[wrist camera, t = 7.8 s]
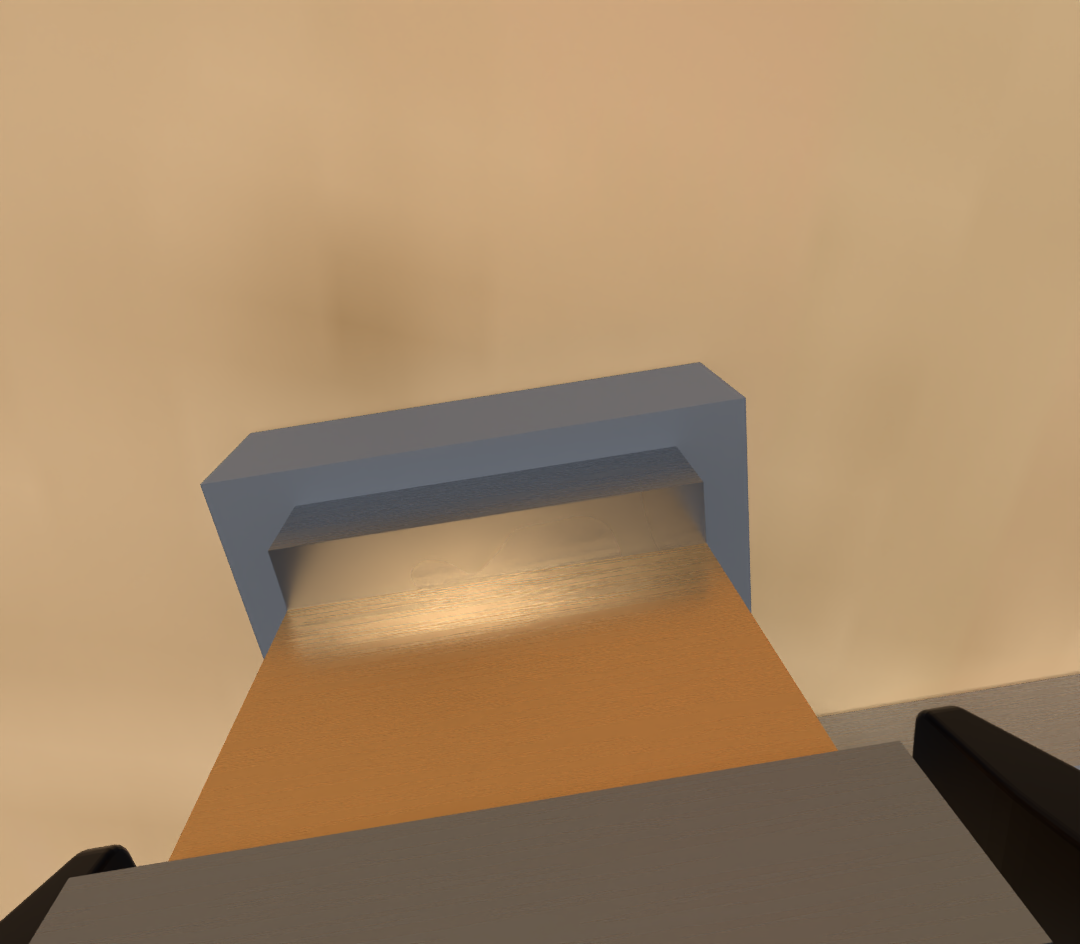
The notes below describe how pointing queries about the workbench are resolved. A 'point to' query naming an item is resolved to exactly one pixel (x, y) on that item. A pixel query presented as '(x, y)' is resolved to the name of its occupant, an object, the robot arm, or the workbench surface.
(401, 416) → the stand
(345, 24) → the workbench surface
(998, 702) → the stand
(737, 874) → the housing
